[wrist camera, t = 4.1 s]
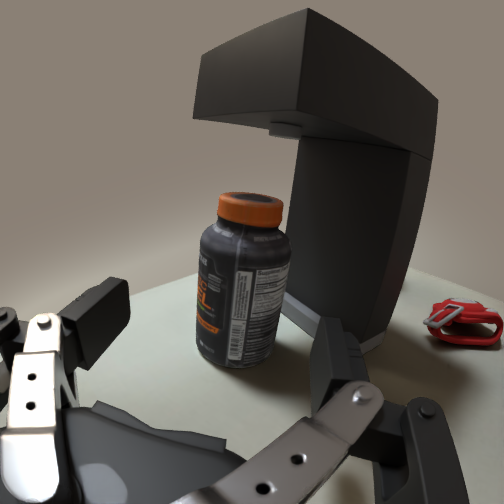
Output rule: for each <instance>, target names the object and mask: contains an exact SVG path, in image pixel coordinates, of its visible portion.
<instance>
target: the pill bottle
mask: <svg viewBox="0 0 504 504" xmlns="http://www.w3.org/2000/svg"><path fill="white" fill-rule="evenodd" d="M282 212H283V202H282V201H281V200H279V199H277V198H274V197H270V196H267V195H262V194H255V193H245V192H229V193H224V194H221V195H220V197H219V206H218V210H217V215H218V220H217V222H216V223H215V224H212V225H211V226H209V227H208V228H207V229H206V230H205V231H204V232H203V234H202V236H201V240H200V254H199V272H198V294H197V317H196V344H197V347H198V349H199V350H200V352H201V353H202V354H203V355H204V356H205V357H206V358H208V359H209V360H211V361H212V362H214V363H216V364H219V365H222V366H226V367H232V368H245V367H251V366H254V365H257V364H260V363H261V362H263V361H265V360H266V359H267V358H268V357H269V356H270V354H271V353H272V350H273V346H274V342H275V337H276V332H277V327H278V322H279V317H280V312H281V308H282V303H283V298H284V294H285V289H286V285H287V276H288V271H289V265H290V258H291V252H292V246H291V242H290V240H289V238H288V237H287V235H286V234H284V233H283V232H282V231H280V230H279V229H278V227H279V225H280V223H281V221H282Z"/></svg>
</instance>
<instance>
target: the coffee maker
mask: <svg viewBox="0 0 504 504" xmlns="http://www.w3.org/2000/svg"><path fill="white" fill-rule="evenodd" d="M437 113H438V99H437V98H436V97H435V96H434V95H432V94H431V93H430V92H429V91H428V90H427V89H426V88H425V87H424V86H423V85H421V84H420V83H419V82H418V81H417V80H416V79H415V78H413V77H412V76H411V75H410V74H408V73H407V72H406V71H405V70H404V69H402V68H401V67H400V66H398V65H397V64H396V63H395V62H393V61H392V60H391V59H390V58H388V57H387V56H386V55H384V54H383V53H381V52H380V51H379V50H377V49H376V48H374V47H373V46H372V45H370V44H369V43H367V42H366V41H364V40H363V39H361V38H359V37H358V36H357V35H355V34H353V33H352V32H350V31H349V30H347V29H345V28H344V27H342V26H341V25H339V24H337V23H335V22H334V21H332V20H330V19H328V18H327V17H325V16H323V15H321V14H319V13H317V12H315V11H314V10H312V9H310V8H306V9H303V10H300V11H297V12H294V13H292V14H289V15H286V16H284V17H281V18H279V19H276V20H274V21H271V22H269V23H266V24H264V25H262V26H259V27H257V28H255V29H253V30H250V31H248V32H246V33H244V34H242V35H240V36H238V37H235V38H234V39H231V40H229V41H227V42H225V43H223V44H221V45H220V46H218V47H216V48H214V49H212V50H210V51H208V52H207V53H205V54H203V55H202V57H201V63H200V69H199V76H198V82H197V89H196V96H195V103H194V111H193V119H199V120H208V121H217V122H224V123H232V124H238V125H245V126H251V127H257V128H263V129H268V130H269V135H270V136H275V137H280V138H287V139H295V140H299V144H298V153H297V159H296V166H295V174H294V180H293V187H292V194H291V200H290V207H289V214H288V220H287V226H286V232H285V234H286V235H287V237H288V238H289V240H290V242H291V246H292V252H291V258H290V265H289V271H288V276H287V285H286V289H285V294H284V298H283V303H282V308H281V312H282V313H283V314H284V315H285V316H287V317H288V318H289V319H290V320H292V321H293V322H294V323H296V324H297V325H298V326H299V327H301V328H302V329H303V330H304V331H306V332H307V333H308V334H309V335H311V336H312V337H313V338H315V335H316V331H317V327H318V324H319V320H320V318H321V316H325V317H332V318H340V320H341V323H342V327H343V331H344V332H351V333H352V334H353V335H354V336H355V338H356V339H357V340H358V342H359V345H360V348H361V352H362V355H363V354H364V353H366V352H368V351H370V350H371V349H373V348H375V347H376V346H378V345H380V344H381V342H382V340H383V337H384V335H385V332H386V330H387V327H388V324H389V322H390V319H391V317H392V314H393V311H394V308H395V306H396V303H397V300H398V297H399V294H400V291H401V288H402V285H403V282H404V279H405V276H406V272H407V269H408V265H409V262H410V259H411V255H412V252H413V248H414V244H415V241H416V237H417V233H418V229H419V225H420V220H421V216H422V212H423V207H424V202H425V198H426V192H427V186H428V182H429V176H430V170H431V163H432V158H433V151H434V143H435V134H436V125H437Z"/></svg>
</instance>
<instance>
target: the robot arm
mask: <svg viewBox="0 0 504 504" xmlns="http://www.w3.org/2000/svg"><path fill="white" fill-rule="evenodd" d="M130 313H131V312H130V300H129V287H128V282H127V281H126V280H123V279H119V278H115V277H109V278H107V279H106V280H105V281H103V282H102V283H101V284H100V285H97V286H95V287H92V288H90V289H88V290H86V291H85V292H84V293H83V294H82V295H81V296H79V297H78V298H76V299H75V300H74V301H72V302H71V303H70V304H69V305H67V306H66V307H65V308H64V309H63V310H61V311H60V312H59V313H58V314H54V313H41V314H38V315H36V316H34V317H33V318H32V319H31V320H30V321H29V322H27V321H20V320H18V318H17V315H16V311H15V310H14V309H13V308H10V307H2V308H0V353H1V355H2V358H3V361H2V362H1V363H0V412H1V411H2V409H3V408H4V407H5V406H6V404H7V403H8V409H7V425H6V427H3V428H0V504H306V503H307V502H308V501H309V500H310V499H311V498H312V497H313V496H314V494H315V493H316V492H317V491H318V490H319V489H320V488H321V487H322V486H323V485H324V484H325V483H326V481H327V480H328V479H329V478H330V477H331V476H332V475H333V474H334V473H335V471H336V470H337V469H338V468H339V467H340V466H341V465H342V463H343V462H344V461H345V460H346V459H347V457H348V456H349V455H351V456H355V457H358V458H362V459H366V460H370V461H372V463H373V476H374V493H375V504H470V503H469V498H468V494H467V490H466V485H465V481H464V477H463V473H462V470H461V466H460V462H459V459H458V455H457V452H456V449H455V445H454V442H453V439H452V436H451V433H450V430H449V427H448V424H447V421H446V418H445V415H444V412H443V410H442V408H441V407H440V406H439V405H438V404H437V403H436V402H435V401H433V400H431V399H428V398H425V397H418V398H414V399H412V400H411V401H410V402H409V403H408V405H407V406H402V405H398V404H394V403H391V402H388V401H386V400H384V397H383V394H382V392H381V391H380V390H379V389H378V388H377V387H376V386H375V385H373V384H371V383H370V381H369V377H368V373H367V370H366V366H365V362H364V359H363V355H362V352H361V348H360V345H359V342H358V340H357V339H356V338H355V336H354V335H353V334H352V333H351V332H344V331H343V327H342V323H341V320H340V318H332V317H325V316H321V318H320V320H319V324H318V327H317V331H316V335H315V338H314V342H313V345H312V349H311V353H310V384H311V418H308V417H307V416H305V417H303V418H301V419H300V420H299V421H297V422H296V423H295V424H294V425H293V426H292V427H290V428H289V429H288V430H287V431H286V432H284V433H283V434H282V435H281V436H279V437H278V438H277V439H276V440H274V441H273V442H272V443H271V444H269V445H268V446H267V447H265V448H264V449H263V450H262V451H260V452H259V453H258V454H256V455H255V456H254V457H252V458H251V459H249V460H248V461H247V460H245V459H244V458H242V457H241V456H239V455H237V454H235V453H234V452H232V451H229V450H227V449H225V448H226V440H227V439H222V438H217V437H213V436H208V435H204V434H199V433H195V432H191V431H174V430H162V429H155V428H152V427H150V426H148V425H147V424H145V423H143V422H142V421H140V420H138V419H137V418H135V417H134V416H132V415H130V414H129V413H127V412H126V411H124V410H121V409H118V408H116V407H113V406H111V405H108V404H106V403H103V402H101V401H98V400H97V401H96V403H95V404H94V406H93V407H92V408H89V407H80V405H79V397H78V388H77V378H76V372H75V369H76V368H77V367H80V368H82V369H85V370H87V371H89V369H90V368H91V367H92V366H93V365H94V363H95V362H96V361H97V360H98V359H99V357H100V356H101V355H102V354H103V353H104V351H105V350H106V349H107V348H108V347H109V346H110V344H111V343H112V342H113V341H114V340H115V339H116V337H117V336H118V335H119V334H120V333H121V332H122V330H123V329H124V328H125V327H126V326H127V324H128V322H129V320H130Z"/></svg>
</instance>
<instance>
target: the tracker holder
mask: <svg viewBox="0 0 504 504" xmlns="http://www.w3.org/2000/svg"><path fill="white" fill-rule="evenodd" d="M452 321H456V322H459V323H488V324H494V323H495V324H496V326H497V329H496V331H495V333H494V334H493V335H492V336H490V337H476V336H460V335H447V334H443V333H442V332H441V326H442V325H446V326H449V325H451V324H452ZM423 324H425V325H427V327H428V330H429V331H430V333H431V334H432V335H433V336H435V337H437V338H440V339H442V340H444V341H447V342H450V343H455V344H465V345H492V344H494V343H495V342H497V341H498V340H499V338H500V337H501V335H502V332H503V320H502V318H501V317H500V316H499V314H498V312H497V311H496V310H495V309H491V308H484V307H483V305H481V304H480V303H479V302H476V301H473V300H470V299H464V298H456V299H447V300H445V301H443V302H442V303H436V304H434V305H433V311H432V313H431V314H430V316H429V318H427V319H425V320H424V321H423Z"/></svg>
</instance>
